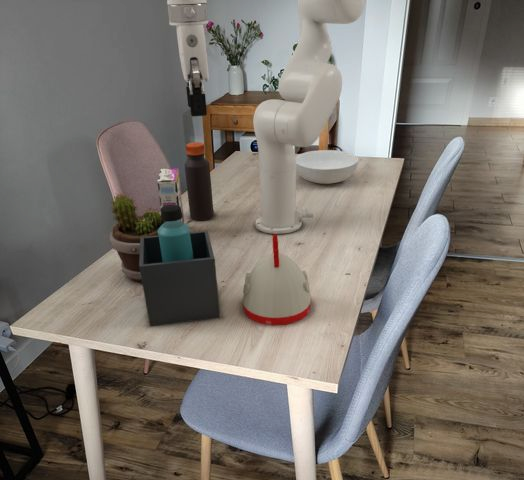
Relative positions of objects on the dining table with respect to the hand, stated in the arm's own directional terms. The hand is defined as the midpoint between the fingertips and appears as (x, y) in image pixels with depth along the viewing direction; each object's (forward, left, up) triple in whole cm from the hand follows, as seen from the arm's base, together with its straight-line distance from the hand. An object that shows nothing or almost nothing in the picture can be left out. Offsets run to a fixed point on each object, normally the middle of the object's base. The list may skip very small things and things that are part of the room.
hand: (197, 111), depth 112 cm
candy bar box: (+8, -15, -34) cm, 38 cm away
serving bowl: (-43, -50, -34) cm, 74 cm away
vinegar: (0, -27, -34) cm, 43 cm away
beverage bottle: (+8, +22, -32) cm, 40 cm away
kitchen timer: (-11, +28, -34) cm, 45 cm away
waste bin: (+8, +23, -33) cm, 41 cm away
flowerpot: (+15, +6, -34) cm, 37 cm away
